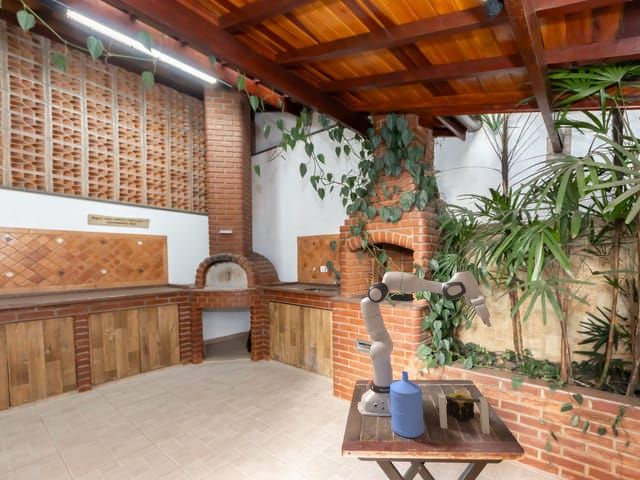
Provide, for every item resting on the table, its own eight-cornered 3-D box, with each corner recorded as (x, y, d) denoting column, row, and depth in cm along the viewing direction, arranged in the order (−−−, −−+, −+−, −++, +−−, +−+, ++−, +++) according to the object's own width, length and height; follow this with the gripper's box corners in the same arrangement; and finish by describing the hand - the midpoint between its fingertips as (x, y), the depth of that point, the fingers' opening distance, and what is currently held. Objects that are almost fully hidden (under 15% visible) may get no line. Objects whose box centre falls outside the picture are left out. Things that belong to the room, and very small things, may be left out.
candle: (446, 413, 165) (444, 394, 166) (460, 409, 169) (459, 391, 169) (460, 422, 156) (459, 402, 156) (475, 418, 159) (474, 399, 160)
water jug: (426, 440, 142) (423, 379, 144) (392, 437, 146) (389, 377, 147) (421, 421, 158) (419, 367, 159) (391, 419, 161) (388, 366, 162)
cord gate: (440, 427, 152) (439, 397, 153) (440, 422, 157) (438, 392, 157) (489, 433, 145) (487, 402, 146) (487, 428, 150) (485, 397, 151)
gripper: (467, 300, 168) (478, 324, 164) (471, 302, 149) (485, 330, 145) (478, 296, 166) (490, 320, 163) (484, 298, 147) (498, 326, 144)
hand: (488, 325), depth 154 cm, fingers open, 8 cm apart
